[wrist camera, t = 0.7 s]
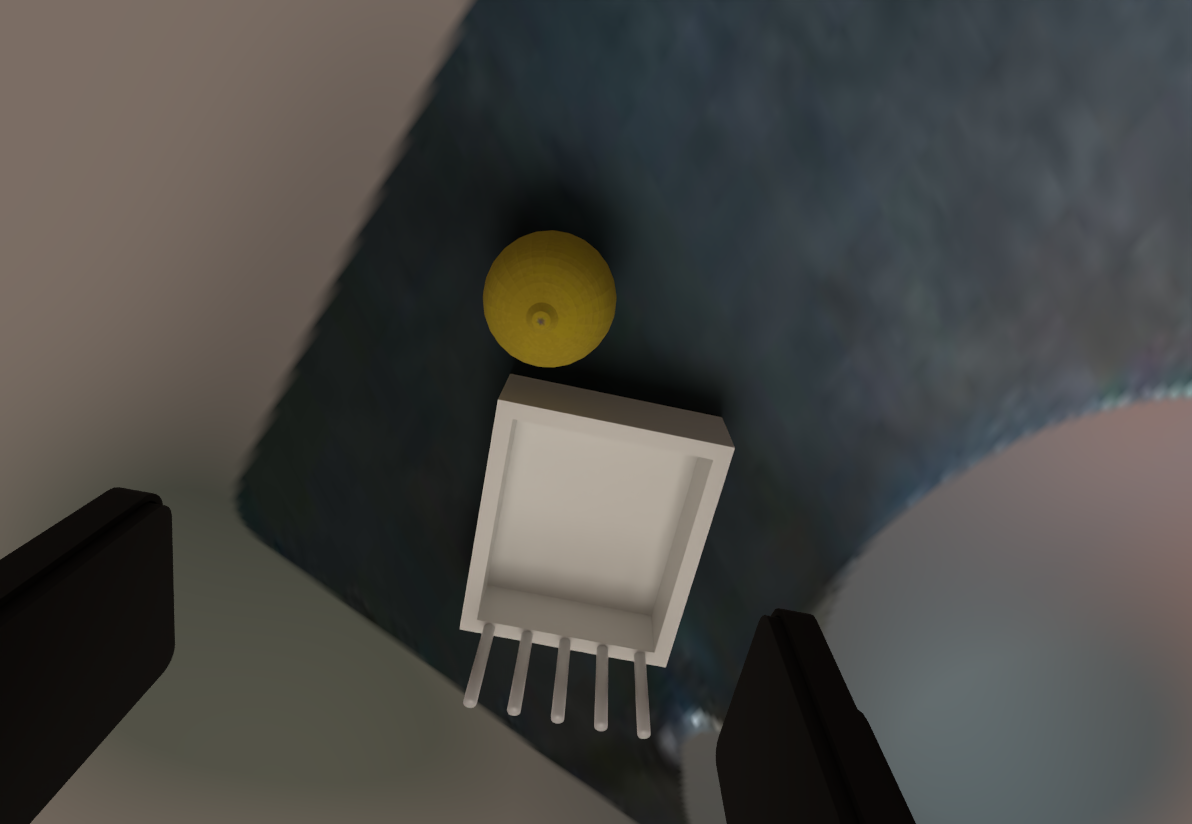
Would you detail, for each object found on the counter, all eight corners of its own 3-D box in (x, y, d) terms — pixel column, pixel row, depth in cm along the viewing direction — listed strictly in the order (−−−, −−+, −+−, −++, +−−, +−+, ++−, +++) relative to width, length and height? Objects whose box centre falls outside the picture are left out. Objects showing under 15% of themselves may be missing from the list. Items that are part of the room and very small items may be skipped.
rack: (510, 373, 33) (476, 444, 25) (721, 417, 34) (757, 500, 26) (473, 585, 38) (435, 703, 30) (660, 620, 39) (673, 746, 30)
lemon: (476, 286, 32) (435, 326, 24) (551, 196, 30) (531, 209, 23) (563, 361, 33) (549, 420, 26) (640, 278, 31) (648, 315, 24)
